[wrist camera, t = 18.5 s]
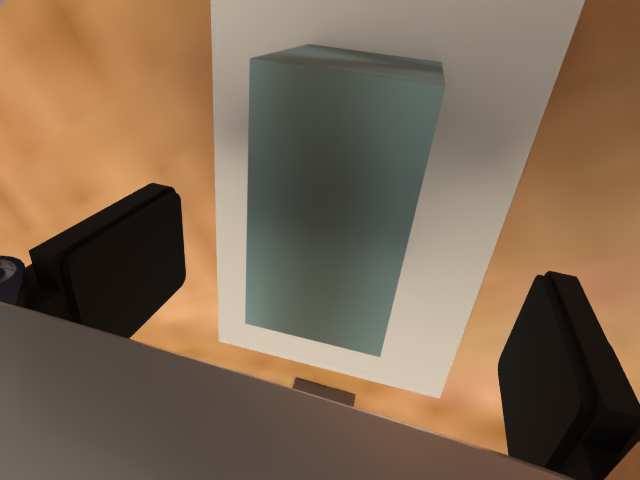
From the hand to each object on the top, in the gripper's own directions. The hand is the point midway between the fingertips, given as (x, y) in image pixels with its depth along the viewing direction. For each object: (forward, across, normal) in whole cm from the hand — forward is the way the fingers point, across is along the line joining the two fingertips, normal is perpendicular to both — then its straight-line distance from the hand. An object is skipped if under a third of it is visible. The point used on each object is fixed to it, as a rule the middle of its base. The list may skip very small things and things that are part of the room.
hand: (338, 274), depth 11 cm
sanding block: (+8, +1, 0) cm, 8 cm away
